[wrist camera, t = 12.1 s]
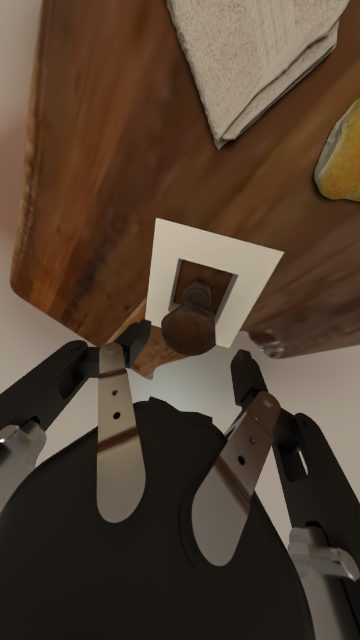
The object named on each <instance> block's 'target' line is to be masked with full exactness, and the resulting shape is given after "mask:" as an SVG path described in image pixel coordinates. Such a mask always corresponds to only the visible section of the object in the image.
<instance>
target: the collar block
mask: <svg viewBox="0 0 360 640" xmlns="http://www.w3.org/2000/svg"><path fill="white" fill-rule="evenodd" d="M283 253H284V252H282V251H278V250H274V249H270V248H267V247H263V246H259V245H256V244H252V243H248V242H244V241H241V240H237V239H233V238H230V237H226V236H222V235H219V234H215V233H211V232H207V231H204V230H200V229H196V228H193V227H189V226H185V225H181V224H178V223H174V222H170V221H167V220H163V219H159V218H156V224H155V233H154V243H153V252H152V261H151V270H150V279H149V288H148V297H147V306H146V315H145V319H146V320H149V321H151V322H152V323H151V325H154V326H158V327H161V321H162V319H163V318H164V316H165V315H167V314H168V313H170V312H171V311H173V310H174V309H176V308H177V307H179V306H180V304H176V303H173V300H174V295H175V291H176V286H177V282H178V277H179V273H180V268H181V263H182V259H184V260H187V261H191V262H194V263H198V264H202V265H205V266H209V267H212V268H216V269H219V270H223V271H226V272H230V273H233V275H232V277H231V280H230V282H229V285H228V287H227V289H226V292H225V294H224V296H223V299H222V301H221V303H220V306H219V308H218V310H217V313H216V315H215V333H216V344H217V345H219V346H223V347H226V348H229V347H230V345H231V344H232V342H233V340H234V338H235V337H236V335H237V333H238V332H239V330H240V328H241V326H242V325H243V323H244V321H245V319H246V318H247V316H248V314H249V312H250V311H251V309H252V307H253V305H254V304H255V302H256V300H257V299H258V297H259V295H260V293H261V292H262V290H263V288H264V286H265V285H266V283H267V281H268V279H269V278H270V276H271V274H272V273H273V271H274V269H275V267H276V266H277V264H278V262H279V260H280V259H281V257H282V255H283Z"/></svg>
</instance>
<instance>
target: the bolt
mask: <svg viewBox="0 0 360 640" xmlns="http://www.w3.org/2000/svg"><path fill="white" fill-rule="evenodd" d="M182 296H183V304H181V305H180V306H179V307H177V308H176V309H174V310H173V311H171V312H170V313H168V314H167V315H165V316H164V318H163V319H162V321H161V329H162V334H163V338H164V341H165V343H166V344H167V346H169V347H170V348H171V349H172V350H174V351H175V352H177V353H180V354H183V355H188V356H196V355H201V354H203V353H205V352H207V351H209V350H210V349H212V348H213V347H214V346H215V345H216V333H215V314H214V313H212V312H210V311H207V307H209V306H210V305H211V287H210V286H208V285H207V284H205V283H204V282H202V281H199V280H197V281H196V280H195V281H194V282H192V283H191V284H190V285H188V286H187V287H186V288H185V289H183V291H182Z"/></svg>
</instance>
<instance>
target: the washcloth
mask: <svg viewBox="0 0 360 640" xmlns="http://www.w3.org/2000/svg"><path fill="white" fill-rule="evenodd" d="M348 2H349V0H166V3H167V8H168V9H169V11H170V14H171V17H172V21H173V25H174V26H175V27H176V30H177V36H178V39H179V43H180V44H181V45H182V50H183V52H184V54H185V56H186V59H187V61H188V63H189V65H190V68H191V72H192V75H193V77H194V81H195V85H196V86H197V89H198V90H199V94H200V98H201V101H202V104H203V106H204V108H205V114H206V116H207V119H208V123H209V126H210V128H211V130H210V132H211V133H212V135H213V138H214V143H215V145H216V147H217V149H218V150H220V148H221V147H222V146H223V145H224V144H225V143H226V142H227V141H230V140H232V139H236V137H238V136H239V135H240V134H242V133H243V132H244V131H245V130H247V128H249V127H250V126H251V125H252V124H253V123H255V122H256V121H257V120H258V119H259V118H260V117H261V116H262V115H263V114H264V113H265V112H266V111H267V109H268V108H269V107H271V106H272V105H273V104H274V103H275V102H276V101H277V100H279V99H280V98H281V97H282V96H283V95H284V94H285V93H287V92H288V91H289V90H290V89H291V88H293V87H294V86H295V85H296V84H297V83H298V82H299V81H300V80H301V79H303V78H304V77H305V76H306V75H307V74H309V73H310V72H311V71H312V70H313V69H314V68H315V67H316V66H317V65H318V64H319V63H320V62H321V61H322V60H323V59H324V58H325V57H327V56H328V55H329V54H330V53H331V52H332V51H333V49H334V48H335V47H336V41H337V30H338V25H339V16H340V15H341V14H342V13H343V11H344V10H345V8H346V6H347V4H348Z"/></svg>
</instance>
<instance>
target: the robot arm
mask: <svg viewBox="0 0 360 640" xmlns="http://www.w3.org/2000/svg"><path fill="white" fill-rule="evenodd" d="M151 323H152V322H151V321H149V320H146V319H142V320H141V321H140V322H139V323H137V322H135V323H133V324H131V325H130V326H129V327H128V328H127V329H126V330H125V331H124V332H123V333H122V334H121V335H120V336H119V337H118V338H117V339H116V340H115V341H114V342H113V343H107V344H105V345H103V346H102V347H88V345H87V343H86V342H85V341H81V340H75V341H71V342H68V343H66V344H65V345H64V346H62V347H61V348H60V349H58V350H57V351H56V352H54V353H53V354H52V355H51V356H49V357H48V358H47V359H45V360H44V361H43V362H41V363H40V364H39V365H38V366H36V367H35V368H34V369H32V370H31V371H30V372H29V373H27V374H26V375H25V376H23V377H22V378H21V379H19V380H18V381H17V382H15V383H14V384H13V385H12V386H10V387H9V388H8V389H7V390H5V391H4V392H3V393H1V394H0V640H360V503H359V501H358V499H357V497H356V495H355V493H354V491H353V490H352V488H351V486H350V484H349V482H348V480H347V478H346V476H345V475H344V473H343V471H342V469H341V467H340V465H339V463H338V461H337V459H336V457H335V456H334V454H333V452H332V450H331V448H330V446H329V444H328V442H327V441H326V439H325V437H324V435H323V433H322V431H321V429H320V428H319V426H318V425H317V424H316V423H315V422H314V421H313V420H312V419H311V418H310V417H308V416H307V415H305V414H303V413H297V414H295V415H292V414H291V413H289V412H287V411H286V410H284V409H283V408H281V406H280V404H279V402H278V401H277V400H276V398H275V397H274V396H273V395H271V394H270V393H269V392H268V390H267V387H266V385H265V382H264V379H263V377H262V373H261V371H260V368H259V365H258V364H257V362H256V361H255V360H254V359H252V357H251V354H250V352H249V351H245V350H242V349H239V350H238V352H237V354H236V355H235V357H234V358H233V360H232V362H231V374H232V382H233V389H234V396H235V402H236V405H238V406H241V407H242V411H241V412H240V413H239V415H238V416H237V417H236V419H235V420H234V421H233V423H232V424H231V426H230V427H229V429H228V430H227V431H226V432H225V434H223V433H222V432H221V431H220V430H219V429H218V428H217V427H216V426H215V425H214V424H212V417H209V416H206V415H203V414H201V413H198V412H182V411H179V410H177V409H176V408H174V407H173V406H171V405H170V404H168V403H167V402H165V401H163V400H160V399H157V398H154V397H151V396H150V398H149V401H140V402H136V403H132V398H131V392H130V386H129V380H128V374H127V370H126V369H125V367H126V368H129V369H130V367H131V366H132V364H133V363H134V361H135V360H136V358H137V357H138V355H139V353H140V352H141V350H142V349H143V347H144V346H145V344H146V343H147V341H148V339H149V336H150V331H151ZM88 378H98V381H99V382H98V384H99V385H98V426H97V427H95V428H94V429H92V430H91V431H89V432H88V433H86V434H85V435H83V436H82V437H80V438H79V439H77V440H76V441H74V442H73V443H71V444H70V445H68V446H67V447H65V448H63V449H62V450H60V451H59V452H57V453H56V454H54V455H53V456H51V457H50V458H48V459H47V460H45V461H44V462H42V463H41V464H40V465H39V466H37V467H36V468H35V464H36V460H37V458H38V455H39V454H40V452H41V451H42V449H43V447H44V445H45V443H46V434H45V431H46V430H47V429H48V427H49V426H50V425H51V424H52V423H53V421H54V420H55V419H56V418H57V416H58V415H59V414H60V412H62V410H63V409H64V408H65V407H66V405H67V404H68V403H69V402H70V400H71V399H72V398H73V397H74V396H75V394H76V393H77V392H78V391H79V389H80V388H81V387H82V386H83V384H84V383H85V382H86V381H87V380H88ZM271 445H272V448H273V452H274V456H275V460H276V464H277V468H278V473H279V476H280V480H281V484H282V489H283V493H284V497H285V501H286V505H287V509H288V513H289V518H290V522H291V525H292V530H291V531H290V535H289V543H290V544H289V545H288V551H287V549H286V548H285V546H284V544H283V542H282V540H281V538H280V536H279V535H278V533H277V531H276V529H275V527H274V526H273V524H272V522H271V520H270V518H269V516H268V514H267V512H266V511H265V509H264V507H263V505H262V503H261V501H260V500H259V498H258V496H257V494H256V492H255V490H254V489H255V486H256V484H257V481H258V479H259V476H260V473H261V471H262V468H263V466H264V463H265V461H266V458H267V456H268V453H269V451H270V448H271ZM299 451H301V453H302V455H303V458H304V460H305V463H306V466H307V469H308V475H307V474H306V471H305V469H304V466H303V463H302V461H301V458H300V455H299Z"/></svg>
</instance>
